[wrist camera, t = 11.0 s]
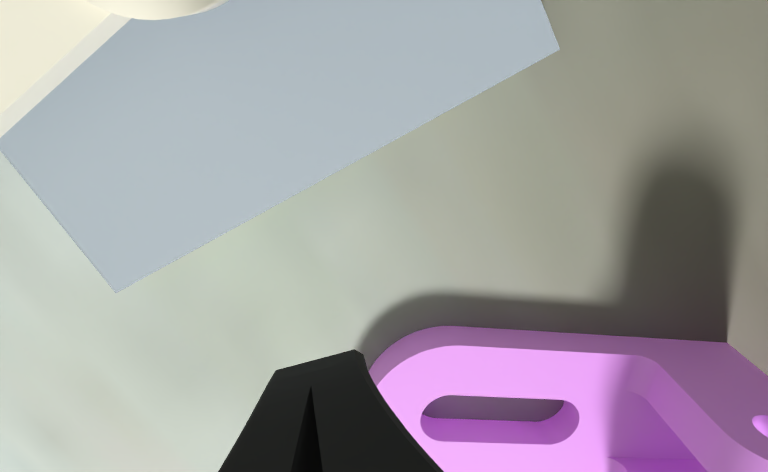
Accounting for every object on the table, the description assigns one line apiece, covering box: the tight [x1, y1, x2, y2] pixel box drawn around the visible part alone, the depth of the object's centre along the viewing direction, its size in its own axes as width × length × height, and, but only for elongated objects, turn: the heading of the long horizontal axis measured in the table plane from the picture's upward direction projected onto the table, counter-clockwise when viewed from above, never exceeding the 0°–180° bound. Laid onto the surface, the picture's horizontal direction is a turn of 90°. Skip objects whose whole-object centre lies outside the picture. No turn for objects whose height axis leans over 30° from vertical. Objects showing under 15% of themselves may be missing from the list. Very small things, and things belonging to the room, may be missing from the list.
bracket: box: [369, 326, 768, 472], centre depth 19 cm, size 13×6×7 cm, turn 82°
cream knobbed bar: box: [0, 0, 229, 138], centre depth 12 cm, size 10×4×3 cm, turn 128°
